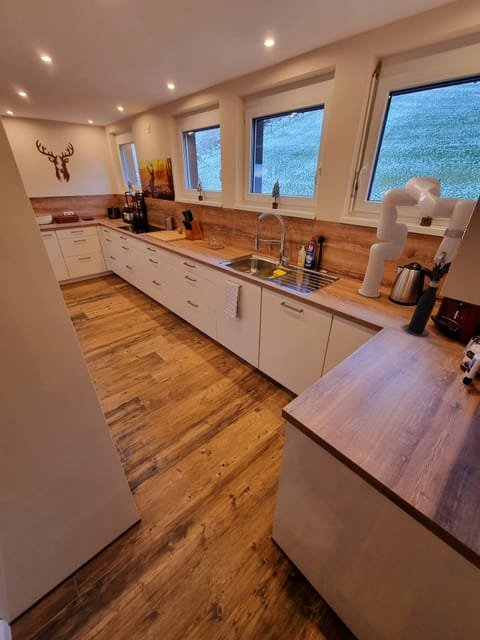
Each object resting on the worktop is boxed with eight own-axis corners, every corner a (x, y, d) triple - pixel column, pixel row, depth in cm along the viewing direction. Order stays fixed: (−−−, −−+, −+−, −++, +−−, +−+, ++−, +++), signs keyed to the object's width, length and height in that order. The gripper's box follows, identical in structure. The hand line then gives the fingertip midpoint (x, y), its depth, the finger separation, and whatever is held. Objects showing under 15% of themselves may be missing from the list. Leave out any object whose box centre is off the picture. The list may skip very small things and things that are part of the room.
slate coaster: (409, 323, 133) (409, 322, 133) (430, 332, 126) (431, 330, 126) (399, 329, 128) (400, 327, 127) (421, 338, 121) (422, 337, 120)
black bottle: (420, 334, 123) (447, 272, 108) (406, 328, 127) (429, 268, 112) (425, 329, 126) (451, 269, 112) (410, 324, 131) (434, 266, 116)
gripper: (452, 230, 112) (437, 269, 120) (436, 234, 103) (421, 276, 111) (474, 233, 107) (456, 274, 115) (459, 237, 97) (441, 281, 106)
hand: (439, 275), depth 113 cm, fingers open, 9 cm apart
